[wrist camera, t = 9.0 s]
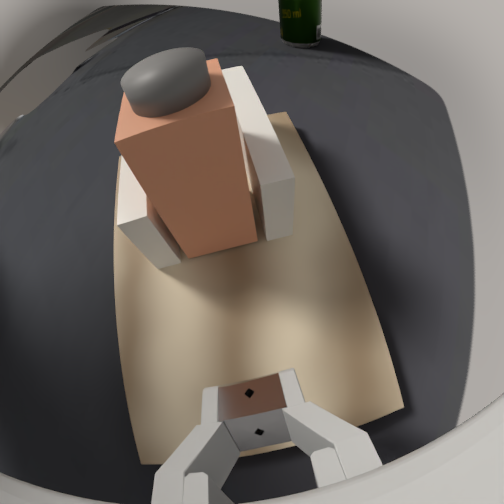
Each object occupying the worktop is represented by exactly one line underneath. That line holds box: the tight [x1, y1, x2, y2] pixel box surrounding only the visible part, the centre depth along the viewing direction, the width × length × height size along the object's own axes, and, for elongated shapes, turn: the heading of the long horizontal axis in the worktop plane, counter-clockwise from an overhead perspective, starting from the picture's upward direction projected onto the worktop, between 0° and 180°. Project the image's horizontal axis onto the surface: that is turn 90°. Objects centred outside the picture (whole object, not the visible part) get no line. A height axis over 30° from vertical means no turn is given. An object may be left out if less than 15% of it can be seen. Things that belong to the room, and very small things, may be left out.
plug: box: [114, 47, 258, 259], centre depth 12 cm, size 4×4×10 cm
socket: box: [117, 66, 295, 269], centre depth 17 cm, size 8×11×5 cm
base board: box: [114, 112, 404, 464], centre depth 17 cm, size 14×22×2 cm, turn 13°
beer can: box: [278, 0, 322, 48], centre depth 25 cm, size 5×5×12 cm
